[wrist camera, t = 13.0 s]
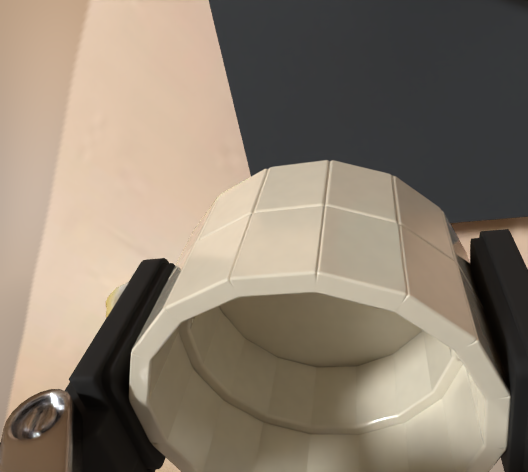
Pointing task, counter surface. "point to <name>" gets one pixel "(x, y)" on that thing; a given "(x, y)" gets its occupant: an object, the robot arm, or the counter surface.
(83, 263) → the counter surface
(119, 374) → the robot arm
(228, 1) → the dark grey flat block
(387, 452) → the bowl
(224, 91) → the counter surface
